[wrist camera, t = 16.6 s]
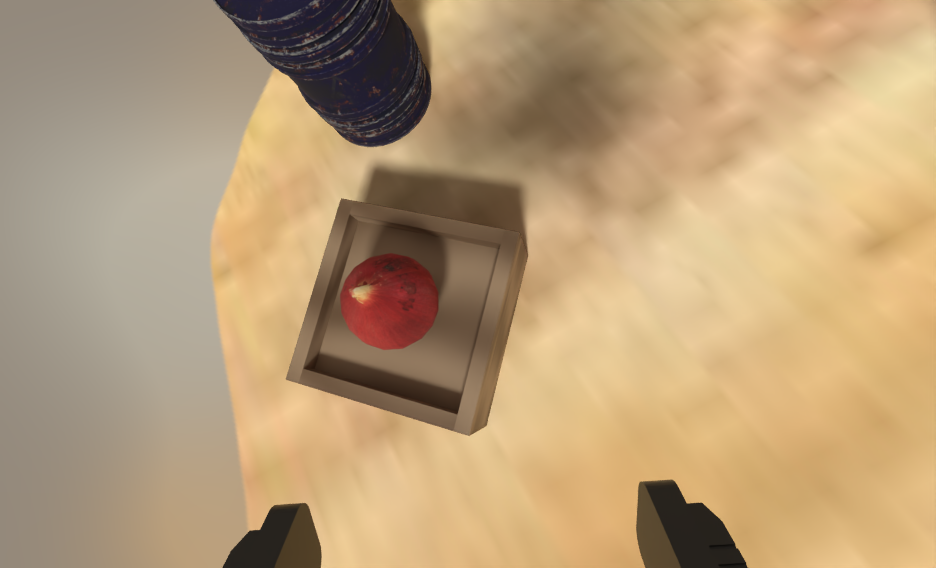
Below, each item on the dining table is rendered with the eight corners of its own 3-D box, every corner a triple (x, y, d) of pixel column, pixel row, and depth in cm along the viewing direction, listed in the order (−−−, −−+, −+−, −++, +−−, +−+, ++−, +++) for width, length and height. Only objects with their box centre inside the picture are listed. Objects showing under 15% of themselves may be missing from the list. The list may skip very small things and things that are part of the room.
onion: (406, 252, 33) (357, 214, 26) (468, 302, 32) (435, 276, 24) (355, 317, 33) (289, 298, 25) (414, 370, 32) (363, 367, 24)
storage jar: (406, 26, 42) (321, -152, 28) (451, 110, 40) (383, -39, 26) (312, 83, 44) (184, -63, 29) (350, 168, 41) (230, 55, 27)
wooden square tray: (377, 226, 40) (341, 198, 33) (528, 257, 36) (519, 232, 30) (332, 379, 38) (285, 379, 32) (487, 425, 35) (468, 435, 28)
